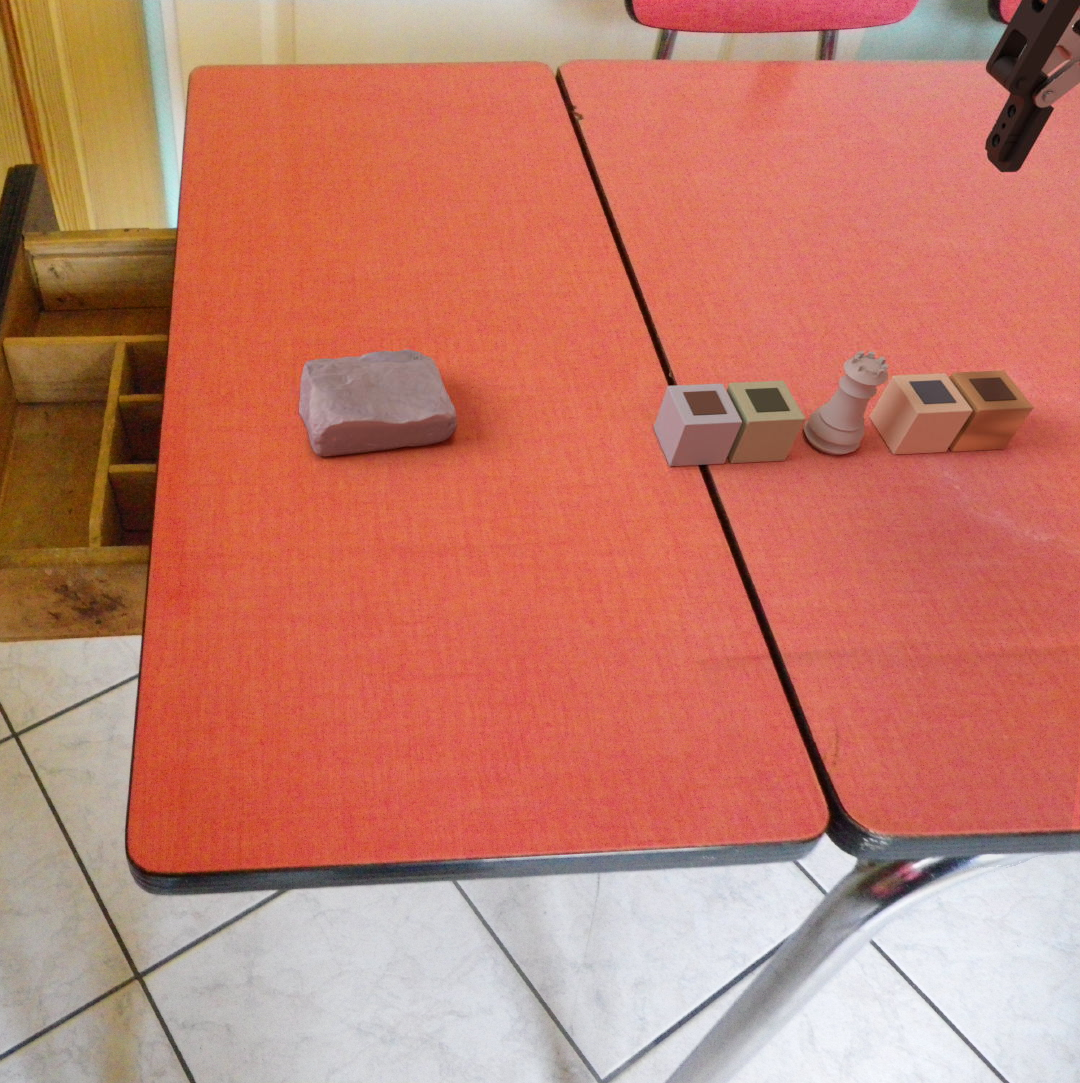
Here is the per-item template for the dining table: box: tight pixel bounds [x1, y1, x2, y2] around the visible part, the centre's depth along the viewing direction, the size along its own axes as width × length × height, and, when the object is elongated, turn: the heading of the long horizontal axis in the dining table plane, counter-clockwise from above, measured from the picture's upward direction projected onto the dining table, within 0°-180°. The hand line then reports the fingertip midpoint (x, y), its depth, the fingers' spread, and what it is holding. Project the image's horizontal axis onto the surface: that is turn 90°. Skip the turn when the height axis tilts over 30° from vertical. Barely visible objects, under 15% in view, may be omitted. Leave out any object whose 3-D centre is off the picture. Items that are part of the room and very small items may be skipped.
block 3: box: [869, 372, 973, 456], centre depth 79 cm, size 4×4×5 cm
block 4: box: [948, 369, 1034, 452], centre depth 80 cm, size 4×4×5 cm
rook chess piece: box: [803, 350, 890, 456], centre depth 78 cm, size 4×4×8 cm
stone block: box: [298, 348, 458, 457], centre depth 80 cm, size 12×5×10 cm
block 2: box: [726, 380, 806, 464], centre depth 78 cm, size 4×4×5 cm
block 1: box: [653, 382, 742, 467], centre depth 78 cm, size 4×4×5 cm
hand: (1073, 164), depth 55 cm, fingers open, 8 cm apart
